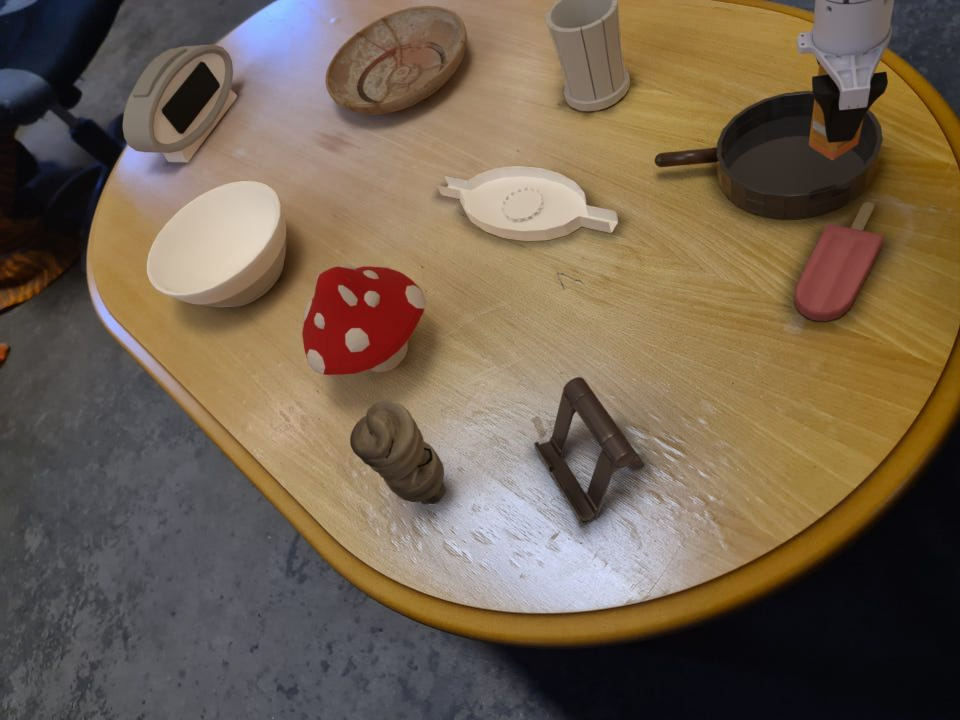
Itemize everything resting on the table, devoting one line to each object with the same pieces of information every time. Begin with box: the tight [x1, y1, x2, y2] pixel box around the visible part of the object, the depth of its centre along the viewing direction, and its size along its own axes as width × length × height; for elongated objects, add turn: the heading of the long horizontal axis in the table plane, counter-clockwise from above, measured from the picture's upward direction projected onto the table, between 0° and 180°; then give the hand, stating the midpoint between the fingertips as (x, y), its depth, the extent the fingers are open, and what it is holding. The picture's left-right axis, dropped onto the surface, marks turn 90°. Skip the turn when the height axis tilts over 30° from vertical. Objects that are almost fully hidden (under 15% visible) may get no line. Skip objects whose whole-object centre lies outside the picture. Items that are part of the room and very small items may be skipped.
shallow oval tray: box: [436, 165, 619, 242], centre depth 85 cm, size 10×25×2 cm, turn 58°
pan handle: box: [654, 147, 725, 168], centre depth 79 cm, size 8×2×2 cm, turn 78°
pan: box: [716, 90, 884, 221], centre depth 75 cm, size 16×16×4 cm
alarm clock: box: [122, 43, 238, 163], centre depth 116 cm, size 23×6×13 cm, turn 158°
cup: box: [545, 0, 631, 112], centre depth 90 cm, size 10×9×12 cm
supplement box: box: [809, 63, 863, 160], centre depth 64 cm, size 3×3×10 cm
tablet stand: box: [533, 376, 645, 525], centre depth 61 cm, size 9×8×8 cm
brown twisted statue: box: [349, 399, 447, 505], centre depth 62 cm, size 6×6×15 cm
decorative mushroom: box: [301, 263, 427, 376], centre depth 74 cm, size 14×14×15 cm
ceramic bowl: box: [324, 5, 468, 115], centre depth 108 cm, size 23×24×5 cm
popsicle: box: [794, 201, 885, 322], centre depth 68 cm, size 5×2×15 cm
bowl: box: [146, 180, 287, 308], centre depth 92 cm, size 19×19×8 cm
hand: (838, 121), depth 65 cm, fingers closed on supplement box, 4 cm apart
